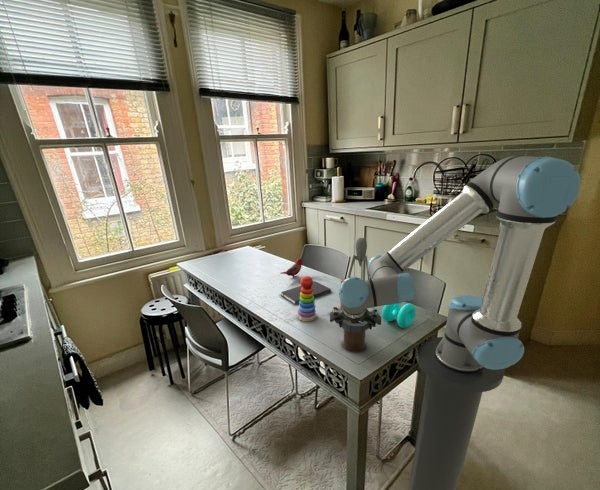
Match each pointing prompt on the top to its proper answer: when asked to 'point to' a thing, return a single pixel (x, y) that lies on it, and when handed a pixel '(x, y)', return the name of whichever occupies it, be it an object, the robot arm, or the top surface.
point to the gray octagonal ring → (355, 326)
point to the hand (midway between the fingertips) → (355, 324)
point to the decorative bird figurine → (294, 268)
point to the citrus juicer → (360, 256)
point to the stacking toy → (306, 300)
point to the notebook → (295, 292)
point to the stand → (354, 340)
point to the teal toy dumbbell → (399, 314)
